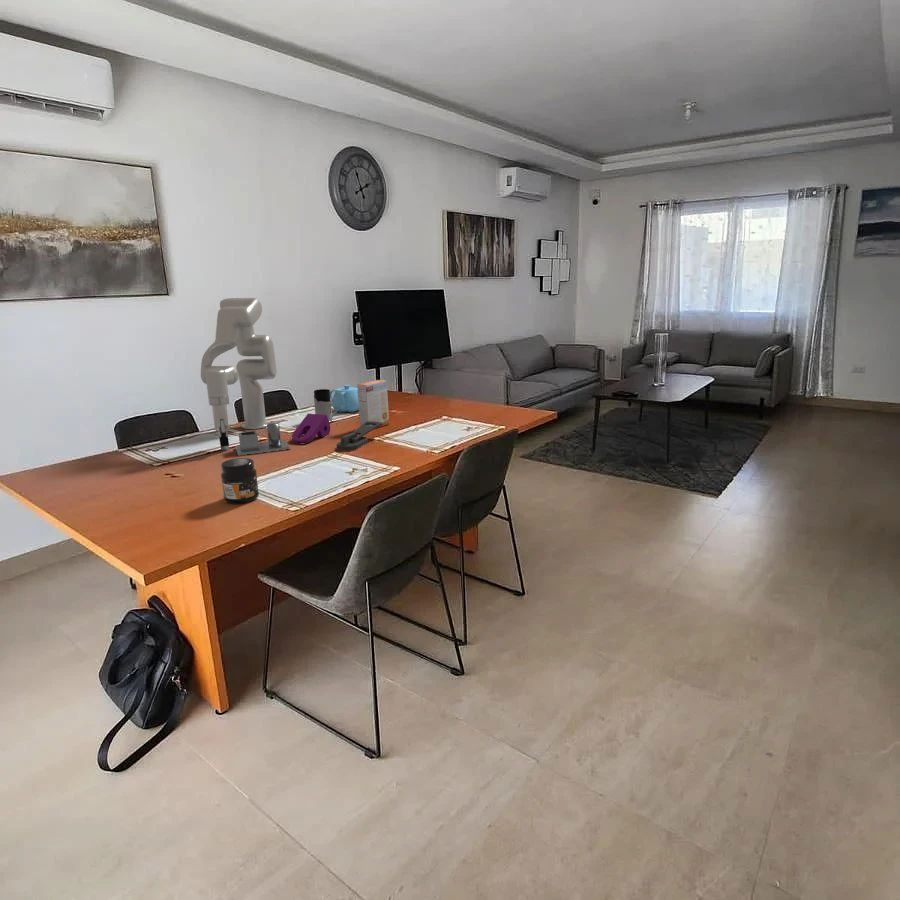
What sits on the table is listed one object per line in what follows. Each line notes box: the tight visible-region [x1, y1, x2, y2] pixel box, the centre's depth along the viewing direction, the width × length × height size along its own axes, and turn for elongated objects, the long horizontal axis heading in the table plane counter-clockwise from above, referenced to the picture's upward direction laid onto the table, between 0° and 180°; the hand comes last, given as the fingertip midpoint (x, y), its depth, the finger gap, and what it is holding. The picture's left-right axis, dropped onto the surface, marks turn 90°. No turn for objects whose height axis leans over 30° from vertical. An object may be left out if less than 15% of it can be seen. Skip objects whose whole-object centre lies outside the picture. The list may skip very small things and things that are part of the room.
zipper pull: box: [336, 421, 382, 451], centre depth 248 cm, size 9×7×25 cm
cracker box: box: [356, 379, 390, 429], centre depth 273 cm, size 14×6×21 cm, turn 144°
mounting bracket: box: [291, 413, 331, 444], centre depth 257 cm, size 9×8×18 cm
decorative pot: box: [330, 384, 359, 414], centre depth 310 cm, size 16×16×14 cm
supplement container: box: [220, 457, 260, 505], centre depth 185 cm, size 10×10×12 cm
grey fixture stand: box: [234, 422, 291, 457], centre depth 241 cm, size 12×20×10 cm, turn 114°
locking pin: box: [217, 428, 230, 452], centre depth 241 cm, size 3×3×10 cm
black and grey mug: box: [313, 388, 343, 421], centre depth 287 cm, size 9×14×15 cm, turn 96°
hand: (224, 444), depth 241 cm, fingers closed on locking pin, 3 cm apart
